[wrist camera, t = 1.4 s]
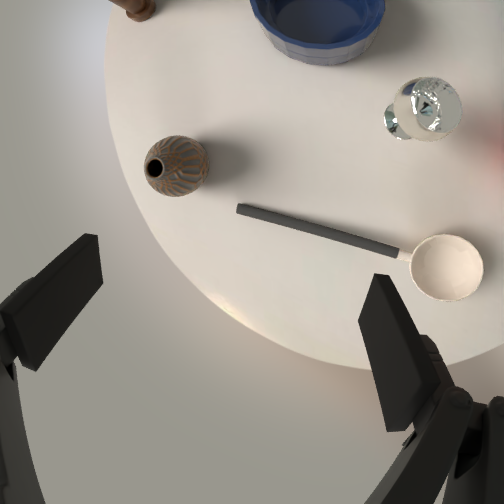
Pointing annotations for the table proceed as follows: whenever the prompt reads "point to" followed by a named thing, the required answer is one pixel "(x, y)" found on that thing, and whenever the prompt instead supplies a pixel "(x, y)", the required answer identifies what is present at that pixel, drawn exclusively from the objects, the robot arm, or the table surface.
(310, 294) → the table surface
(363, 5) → the blue bowl
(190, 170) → the vase
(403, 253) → the ladle
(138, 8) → the brown wooden post
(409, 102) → the wineglass
